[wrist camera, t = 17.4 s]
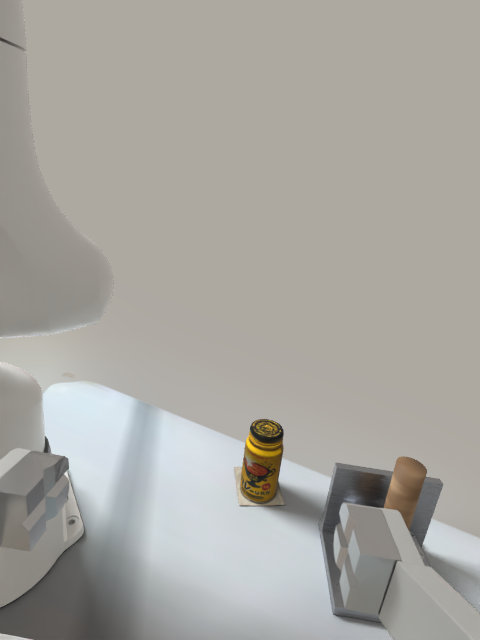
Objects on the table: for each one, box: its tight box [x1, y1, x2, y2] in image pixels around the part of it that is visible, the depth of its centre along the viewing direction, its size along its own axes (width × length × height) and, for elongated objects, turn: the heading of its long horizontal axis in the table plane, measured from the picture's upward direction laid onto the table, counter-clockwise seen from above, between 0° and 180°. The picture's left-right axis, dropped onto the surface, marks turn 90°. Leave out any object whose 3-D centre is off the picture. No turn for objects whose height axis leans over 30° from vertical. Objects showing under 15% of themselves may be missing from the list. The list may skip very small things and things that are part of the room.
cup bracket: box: [319, 463, 443, 623], centre depth 42 cm, size 12×14×12 cm
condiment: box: [234, 419, 285, 506], centre depth 55 cm, size 7×8×12 cm
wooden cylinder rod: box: [384, 457, 427, 531], centre depth 41 cm, size 3×3×16 cm
